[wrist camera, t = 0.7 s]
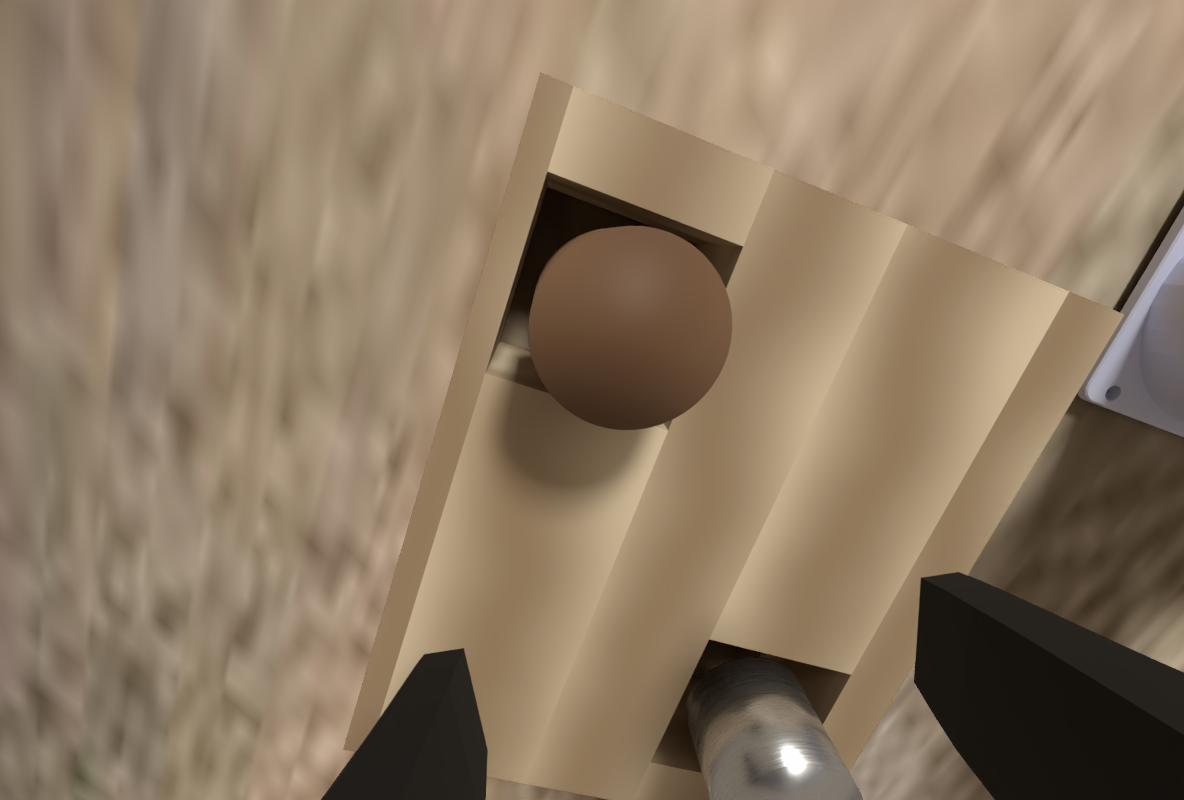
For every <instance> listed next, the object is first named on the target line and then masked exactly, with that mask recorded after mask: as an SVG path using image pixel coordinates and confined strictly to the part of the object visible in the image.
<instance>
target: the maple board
mask: <svg viewBox="0 0 1184 800" xmlns="http://www.w3.org/2000/svg"><path fill="white" fill-rule="evenodd" d="M547 187H548V188H551V189H554V190H556V191H559V192H562V193H564V194H567V195H570V196H572V197H575V198H577V199H580V200H583V201H585V202H588V203H591V204H593V205H596V206H599V207H601V208H604V209H606V210H609V211H612V212H614V213H617V214H620V215H622V216H625V217H628V218H630V219H633V220H635V221H638V222H641V223H643V224H646V225H649V226H651V227H654V228H657V229H660V230H664V231H667V232H670V233H672V234H674V235H676V236H679V237H681V238H683V239H686V240H688V241H691V242H694V243H696V244H697V245H696V248H697V249H698V250H699V251H700V252H702V253H703V254H704V255H705V257H706V258H707V259H708V260H709V261H710V262H711V263H712V265H713V266H714V268H715V269H716V271H717V272H718V274H719V275H720V277H721V279H722V281H723V284H724V286H725V288H726V291H727V294H728V297H729V300H730V306H731V312H732V337H731V343H730V348H729V353H728V356H727V358H726V361H725V364H724V366H723V368H722V371H721V373H720V375H719V377H718V378H717V380H716V381H715V383H714V384H713V386H712V387H711V389H710V390H709V391H708V392H707V393H706V394H705V396H704V397H703V398H702V399H701V400H700V401H699V402H697V403H696V404H695V405H694V406H693V407H692V408H690V409H689V410H688V411H686V412H685V413H683V414H682V415H680V416H678V417H676V418H675V419H673V420H671V421H668V422H666V423H663V424H661V425H658V426H654V427H650V428H646V429H638V430H616V429H608V428H604V427H600V426H596V425H594V424H591V423H588V422H586V421H584V420H582V419H580V418H578V417H576V416H575V415H573V414H572V413H570V412H569V411H568V410H566V409H565V408H564V407H562V406H561V405H560V404H559V403H558V402H557V401H556V400H555V399H554V398H553V397H552V395H551V394H550V393H549V392H548V390H547V389H546V388H545V386H544V384H543V383H542V381H541V379H540V378H539V375H538V373H537V371H536V369H535V366H534V363H533V360H532V356H531V352H530V351H528V350H525V349H522V348H519V347H516V346H513V345H510V344H507V343H504V342H500V339H501V336H502V332H503V329H504V326H505V323H506V320H507V316H508V313H509V310H510V307H511V303H512V300H513V297H514V294H515V290H516V287H517V284H518V281H519V278H520V274H521V271H522V268H523V265H524V261H525V258H526V255H527V252H528V248H529V245H530V242H531V239H532V236H533V232H534V229H535V226H536V223H537V219H538V216H539V213H540V210H541V206H542V203H543V200H544V197H545V193H546V190H547ZM1124 315H1125V314H1122V313H1120V312H1117V311H1115V310H1113V309H1110V308H1108V307H1105V306H1103V305H1101V304H1098V303H1096V302H1093V301H1091V300H1088V299H1086V298H1084V297H1081V296H1079V295H1076V294H1074V293H1072V292H1069V291H1067V290H1064V289H1062V288H1059V287H1057V286H1055V285H1052V284H1050V283H1047V282H1045V281H1043V280H1040V279H1038V278H1035V277H1033V276H1031V275H1028V274H1026V273H1023V272H1021V271H1018V270H1016V269H1014V268H1011V267H1009V266H1006V265H1004V264H1002V263H999V262H997V261H994V260H992V259H989V258H987V257H985V256H982V255H980V254H977V253H975V252H973V251H970V250H968V249H965V248H963V247H961V246H958V245H956V244H953V243H951V242H948V241H946V240H944V239H941V238H939V237H936V236H934V235H932V234H929V233H927V232H924V231H922V230H919V229H917V228H915V227H912V226H910V225H907V224H905V223H903V222H900V221H898V220H895V219H893V218H891V217H888V216H886V215H883V214H881V213H878V212H876V211H874V210H871V209H869V208H866V207H864V206H862V205H859V204H857V203H854V202H852V201H849V200H847V199H845V198H842V197H840V196H837V195H835V194H833V193H830V192H828V191H825V190H823V189H821V188H818V187H816V186H813V185H811V184H808V183H806V182H804V181H801V180H799V179H796V178H794V177H792V176H789V175H787V174H784V173H782V172H779V171H777V170H775V169H772V168H770V167H767V166H765V165H763V164H760V163H758V162H755V161H753V160H751V159H748V158H746V157H743V156H741V155H738V154H736V153H734V152H731V151H729V150H726V149H724V148H722V147H719V146H717V145H714V144H712V143H709V142H707V141H705V140H702V139H700V138H697V137H695V136H693V135H690V134H688V133H685V132H683V131H681V130H678V129H676V128H673V127H671V126H668V125H666V124H664V123H661V122H659V121H656V120H654V119H652V118H649V117H647V116H644V115H642V114H639V113H637V112H635V111H632V110H630V109H627V108H625V107H623V106H620V105H618V104H615V103H613V102H611V101H608V100H606V99H603V98H601V97H598V96H596V95H594V94H591V93H589V92H586V91H584V90H582V89H579V88H577V87H574V86H572V85H569V84H567V83H565V82H562V81H560V80H557V79H555V78H553V77H550V76H548V75H545V74H543V73H541V72H540V76H539V79H538V83H537V86H536V90H535V93H534V96H533V100H532V103H531V107H530V110H529V114H528V117H527V120H526V124H525V127H524V131H523V134H522V138H521V141H520V144H519V148H518V151H517V155H516V158H515V162H514V165H513V168H512V172H511V175H510V179H509V182H508V186H507V189H506V192H505V196H504V199H503V203H502V206H501V210H500V213H499V217H498V220H497V223H496V227H495V230H494V234H493V237H492V241H491V244H490V247H489V251H488V254H487V258H486V261H485V265H484V268H483V271H482V275H481V278H480V282H479V285H478V289H477V292H476V295H475V299H474V302H473V306H472V309H471V313H470V316H469V320H468V323H467V326H466V330H465V333H464V337H463V340H462V344H461V347H460V350H459V354H458V357H457V361H456V364H455V368H454V371H453V374H452V378H451V381H450V385H449V388H448V392H447V395H446V398H445V402H444V405H443V409H442V412H441V416H440V419H439V422H438V426H437V429H436V433H435V436H434V440H433V443H432V447H431V450H430V453H429V457H428V460H427V464H426V467H425V471H424V474H423V477H422V481H421V484H420V488H419V491H418V495H417V498H416V501H415V505H414V508H413V512H412V515H411V519H410V522H409V525H408V529H407V532H406V536H405V539H404V543H403V546H402V549H401V553H400V556H399V560H398V563H397V567H396V570H395V574H394V577H393V580H392V584H391V587H390V591H389V594H388V598H387V601H386V604H385V608H384V611H383V615H382V618H381V622H380V625H379V628H378V632H377V635H376V639H375V642H374V646H373V649H372V652H371V656H370V659H369V663H368V666H367V670H366V673H365V677H364V680H363V683H362V687H361V690H360V694H359V697H358V701H357V704H356V707H355V711H354V714H353V718H352V721H351V725H350V728H349V731H348V735H347V738H346V742H345V745H344V750H349V751H354V752H356V751H357V750H358V748H359V747H360V745H361V744H362V743H363V741H364V740H365V738H366V737H367V736H368V734H369V733H370V731H371V730H372V728H373V727H374V725H375V724H376V723H377V721H378V720H379V718H380V717H381V715H382V714H383V712H384V711H385V710H386V708H387V707H388V705H389V704H390V702H391V701H392V699H393V698H394V696H395V695H396V693H397V692H398V690H399V689H400V687H401V686H402V685H403V683H404V682H405V680H406V679H407V677H408V676H409V674H410V673H411V671H412V670H413V668H414V667H415V666H416V664H417V663H418V661H419V660H420V659H421V658H422V656H423V655H424V654H429V653H435V652H442V651H448V650H455V649H461V648H464V651H465V655H466V659H467V663H468V668H469V672H470V676H471V681H472V685H473V689H474V693H475V698H476V702H477V706H478V711H479V715H480V719H481V723H482V728H483V732H484V736H485V741H486V745H487V749H488V757H487V777H492V778H497V779H502V780H508V781H513V782H518V783H523V784H529V785H534V786H539V787H544V788H550V789H555V790H560V791H566V792H571V793H576V794H581V795H587V796H592V797H597V798H603V799H608V800H710V799H709V796H708V792H707V789H706V785H705V782H704V778H703V775H702V771H701V768H700V764H699V761H698V757H697V754H696V750H695V747H694V744H693V740H692V737H691V733H690V730H689V726H688V722H687V719H686V704H687V700H688V697H689V694H690V692H691V691H692V689H693V687H694V686H695V684H696V683H697V682H698V681H699V679H696V678H692V677H691V676H692V674H693V672H694V670H695V668H696V666H697V664H698V662H699V660H700V657H701V655H702V653H703V651H704V649H705V647H706V645H707V643H708V641H709V639H710V640H714V641H718V642H722V643H726V644H730V645H734V646H738V647H742V648H746V649H750V650H754V651H758V652H761V654H760V656H759V657H763V658H768V659H771V660H775V661H777V662H779V663H781V664H783V665H784V666H786V667H787V668H788V669H789V670H790V671H791V672H792V673H793V674H794V675H795V677H796V678H797V680H798V682H799V684H800V686H801V687H802V689H803V691H804V693H805V695H806V696H807V698H808V700H809V702H810V703H811V705H812V707H813V709H814V711H815V712H816V714H817V716H818V718H819V719H820V721H821V723H822V725H823V727H824V728H825V730H826V732H827V734H828V736H829V737H830V739H831V741H832V743H833V744H834V746H835V748H836V750H837V752H838V753H839V755H840V757H841V759H842V760H843V762H844V764H845V766H846V768H847V769H848V771H849V772H850V770H851V768H852V767H853V765H854V763H855V762H856V760H857V758H858V757H859V755H860V753H861V752H862V750H863V748H864V747H865V745H866V743H867V742H868V740H869V738H870V737H871V735H872V733H873V732H874V730H875V728H876V727H877V725H878V723H879V722H880V720H881V718H882V717H883V715H884V713H885V712H886V710H887V708H888V707H889V705H890V703H891V702H892V700H893V698H894V697H895V695H896V693H897V692H898V690H899V688H900V687H901V685H902V683H903V682H904V680H905V679H906V677H907V675H908V674H909V672H910V670H911V669H912V667H913V665H914V664H915V660H916V644H917V629H918V614H919V598H920V583H921V578H922V577H929V576H935V575H942V574H948V573H955V572H960V573H962V574H965V575H968V574H969V572H970V570H971V569H972V567H973V566H974V564H975V562H976V561H977V559H978V557H979V556H980V554H981V552H982V551H983V549H984V547H985V546H986V544H987V542H988V541H989V539H990V537H991V536H992V534H993V532H994V531H995V529H996V527H997V526H998V524H999V522H1000V521H1001V519H1002V517H1003V516H1004V514H1005V512H1006V511H1007V509H1008V507H1009V506H1010V504H1011V502H1012V501H1013V499H1014V497H1015V496H1016V494H1017V492H1018V491H1019V489H1020V487H1021V486H1022V484H1023V482H1024V481H1025V479H1026V477H1027V476H1028V474H1029V472H1030V471H1031V469H1032V467H1033V466H1034V464H1035V462H1036V461H1037V459H1038V457H1039V456H1040V454H1041V452H1042V451H1043V449H1044V448H1045V446H1046V444H1047V443H1048V441H1049V439H1050V438H1051V436H1052V434H1053V433H1054V431H1055V429H1056V428H1057V426H1058V424H1059V423H1060V421H1061V419H1062V418H1063V416H1064V414H1065V413H1066V411H1067V409H1068V408H1069V406H1070V404H1071V403H1072V401H1073V399H1074V398H1075V396H1076V394H1077V393H1078V391H1079V389H1080V388H1081V386H1082V384H1083V383H1084V381H1085V379H1086V378H1087V376H1088V374H1089V373H1090V371H1091V369H1092V368H1093V366H1094V364H1095V363H1096V361H1097V359H1098V358H1099V356H1100V354H1101V353H1102V351H1103V349H1104V348H1105V346H1106V344H1107V343H1108V341H1109V339H1110V338H1111V336H1112V335H1113V333H1114V331H1115V330H1116V328H1117V326H1118V325H1119V323H1120V321H1121V320H1122V318H1123V316H1124Z"/></svg>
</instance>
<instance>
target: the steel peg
mask: <svg viewBox="0 0 1184 800" xmlns="http://www.w3.org/2000/svg"><path fill="white" fill-rule="evenodd" d="M686 719H687V722H688V726H689V730H690V733H691V737H692V740H693V744H694V747H695V750H696V754H697V757H698V761H699V764H700V768H701V771H702V775H703V778H704V782H705V785H706V789H707V792H708V796H709V799H710V800H863V798H862V795H861V793H860V791H859V789H858V787H857V785H856V784H855V782H854V780H853V778H852V777H851V775H850V773H849V771H848V769H847V768H846V766H845V764H844V762H843V760H842V759H841V757H840V755H839V753H838V752H837V750H836V748H835V746H834V744H833V743H832V741H831V739H830V737H829V736H828V734H827V732H826V730H825V728H824V727H823V725H822V723H821V721H820V719H819V718H818V716H817V714H816V712H815V711H814V709H813V707H812V705H811V703H810V702H809V700H808V698H807V696H806V695H805V693H804V691H803V689H802V687H801V686H800V684H799V682H798V680H797V678H796V677H795V675H794V674H793V673H792V672H791V671H790V670H789V669H788V668H787V667H786V666H784V665H783V664H781V663H779V662H777V661H775V660H771V659H768V658H763V657H742V658H737V659H733V660H729V661H727V662H724V663H722V664H720V665H718V666H716V667H714V668H713V669H711V670H710V671H708V672H707V673H706V674H705V675H703V676H702V677H701V678H700V679H699V681H698V682H697V683H696V684H695V686H694V687H693V689H692V691H691V692H690V694H689V697H688V700H687V704H686Z"/></svg>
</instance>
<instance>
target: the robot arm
mask: <svg viewBox="0 0 1184 800" xmlns="http://www.w3.org/2000/svg"><path fill="white" fill-rule="evenodd" d="M1120 313H1122V314H1125V315H1124V316H1123V318H1122V320H1121V321H1120V323H1119V325H1118V326H1117V328H1116V330H1115V331H1114V333H1113V335H1112V336H1111V338H1110V339H1109V341H1108V343H1107V344H1106V346H1105V348H1104V349H1103V351H1102V353H1101V354H1100V356H1099V358H1098V359H1097V361H1096V363H1095V364H1094V366H1093V368H1092V369H1091V371H1090V373H1089V374H1088V376H1087V378H1086V379H1085V381H1084V383H1083V384H1082V386H1081V388H1080V389H1079V391H1078V393H1077V394H1078V396H1079V397H1080V398H1081V399H1083V400H1085V401H1088V402H1091V403H1093V404H1096V405H1099V406H1101V407H1104V408H1107V409H1109V410H1112V411H1115V412H1117V413H1120V414H1123V415H1125V416H1128V417H1131V418H1133V419H1136V420H1139V421H1141V422H1144V423H1147V424H1149V425H1152V426H1155V427H1157V428H1160V429H1163V430H1165V431H1168V432H1171V433H1173V434H1176V435H1179V436H1181V437H1184V207H1183V208H1182V210H1181V212H1180V213H1179V215H1178V217H1177V218H1176V220H1175V222H1174V223H1173V225H1172V227H1171V228H1170V230H1169V232H1168V233H1167V235H1166V237H1165V238H1164V240H1163V242H1162V243H1161V245H1160V247H1159V248H1158V250H1157V252H1156V253H1155V255H1154V257H1153V258H1152V260H1151V262H1150V263H1149V265H1148V267H1147V268H1146V270H1145V272H1144V273H1143V275H1142V277H1141V278H1140V280H1139V282H1138V283H1137V285H1136V287H1135V288H1134V290H1133V292H1132V293H1131V295H1130V297H1129V298H1128V300H1127V302H1126V303H1125V305H1124V307H1123V308H1122V310H1121V312H1120ZM1108 389H1109V390H1108ZM1107 390H1108V393H1107V394H1106V391H1107ZM1105 394H1106V395H1105ZM914 683H915V684H916V686H917V688H918V689H919V691H920V693H921V694H922V696H923V697H924V699H925V701H926V702H927V704H928V706H929V707H930V709H931V711H932V712H933V714H934V716H935V717H936V719H937V720H938V722H939V724H940V725H941V727H942V728H943V730H944V731H945V733H946V734H947V736H948V737H949V739H950V741H951V742H952V744H953V745H954V747H955V748H956V750H957V751H958V752H959V754H960V755H961V756H962V758H963V759H964V760H965V762H966V763H967V764H968V766H969V767H970V768H971V769H972V771H973V772H974V773H975V775H976V776H977V777H978V778H979V780H980V781H981V782H982V784H983V785H984V786H985V787H986V789H987V790H988V791H989V793H990V794H991V795H992V796H993V798H994V799H995V800H1184V673H1183V672H1181V671H1179V670H1176V669H1174V668H1172V667H1170V666H1167V665H1165V664H1163V663H1160V662H1158V661H1156V660H1154V659H1151V658H1149V657H1147V656H1145V655H1143V654H1140V653H1138V652H1136V651H1134V650H1131V649H1129V648H1127V647H1125V646H1123V645H1120V644H1118V643H1116V642H1114V641H1112V640H1109V639H1107V638H1105V637H1103V636H1101V635H1098V634H1096V633H1094V632H1092V631H1090V630H1088V629H1085V628H1083V627H1081V626H1079V625H1077V624H1075V623H1072V622H1070V621H1068V620H1066V619H1064V618H1062V617H1059V616H1057V615H1055V614H1053V613H1051V612H1049V611H1046V610H1044V609H1042V608H1040V607H1038V606H1036V605H1033V604H1031V603H1029V602H1027V601H1025V600H1023V599H1020V598H1018V597H1016V596H1014V595H1012V594H1009V593H1007V592H1005V591H1003V590H1001V589H998V588H996V587H994V586H991V585H989V584H987V583H985V582H982V581H980V580H977V579H975V578H973V577H970V576H967V575H965V574H962V573H960V572H955V573H948V574H942V575H935V576H929V577H922V578H921V583H920V598H919V614H918V629H917V644H916V660H915V675H914ZM487 757H488V749H487V745H486V741H485V736H484V732H483V728H482V723H481V719H480V715H479V711H478V706H477V702H476V698H475V693H474V689H473V685H472V681H471V676H470V672H469V668H468V663H467V659H466V655H465V651H464V648H461V649H455V650H448V651H442V652H435V653H429V654H424V655H423V656H422V658H421V659H420V660H419V661H418V663H417V664H416V666H415V667H414V668H413V670H412V671H411V673H410V674H409V676H408V677H407V679H406V680H405V682H404V683H403V685H402V686H401V687H400V689H399V690H398V692H397V693H396V695H395V696H394V698H393V699H392V701H391V702H390V704H389V705H388V707H387V708H386V710H385V711H384V712H383V714H382V715H381V717H380V718H379V720H378V721H377V723H376V724H375V725H374V727H373V728H372V730H371V731H370V733H369V734H368V736H367V737H366V738H365V740H364V741H363V743H362V744H361V745H360V747H359V748H358V750H357V751H356V752H355V754H354V755H353V756H352V758H351V759H350V761H349V762H348V763H347V765H346V766H345V768H344V769H343V770H342V772H341V773H340V774H339V776H338V777H337V779H336V780H335V781H334V783H333V784H332V786H331V787H330V788H329V790H328V791H327V792H326V794H325V795H324V796H323V798H322V799H321V800H485V798H486V778H487Z"/></svg>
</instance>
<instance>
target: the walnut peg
mask: <svg viewBox="0 0 1184 800" xmlns="http://www.w3.org/2000/svg"><path fill="white" fill-rule="evenodd" d="M528 335H529V346H530V352H531V356H532V360H533V363H534V366H535V369H536V371H537V373H538V375H539V378H540V379H541V381H542V383H543V384H544V386H545V388H546V389H547V390H548V392H549V393H550V394H551V395H552V397H553V398H554V399H555V400H556V401H557V402H558V403H559V404H560V405H561V406H562V407H564V408H565V409H566V410H568V411H569V412H570V413H572V414H573V415H575V416H576V417H578V418H580V419H582V420H584V421H586V422H588V423H591V424H594V425H596V426H600V427H604V428H608V429H616V430H638V429H646V428H650V427H654V426H658V425H661V424H663V423H666V422H668V421H671V420H673V419H675V418H676V417H678V416H680V415H682V414H683V413H685V412H686V411H688V410H689V409H690V408H692V407H693V406H694V405H695V404H696V403H697V402H699V401H700V400H701V399H702V398H703V397H704V396H705V394H706V393H707V392H708V391H709V390H710V389H711V387H712V386H713V384H714V383H715V381H716V380H717V378H718V377H719V375H720V373H721V371H722V368H723V366H724V364H725V361H726V358H727V356H728V353H729V348H730V343H731V337H732V312H731V306H730V300H729V297H728V294H727V291H726V288H725V286H724V284H723V281H722V279H721V277H720V275H719V274H718V272H717V271H716V269H715V268H714V266H713V265H712V263H711V262H710V261H709V260H708V259H707V258H706V257H705V255H704V254H703V253H702V252H700V251H699V250H698V249H697V248H696V247H695V246H693V245H692V244H690V243H689V242H687V241H686V240H684V239H683V238H681V237H679V236H676V235H674V234H672V233H670V232H667V231H664V230H660V229H657V228H652V227H645V226H622V227H614V228H605V229H597V230H593V231H589V232H586V233H583V234H581V235H578V236H576V237H575V238H573V239H571V240H569V241H568V242H566V243H565V244H564V245H563V246H561V247H560V248H559V249H558V250H557V251H556V252H555V253H554V254H553V255H552V256H551V258H550V259H549V260H548V262H547V263H546V265H545V266H544V268H543V270H542V272H541V274H540V276H539V279H538V281H537V285H536V289H535V293H534V297H533V302H532V306H531V310H530V316H529V325H528Z"/></svg>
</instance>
